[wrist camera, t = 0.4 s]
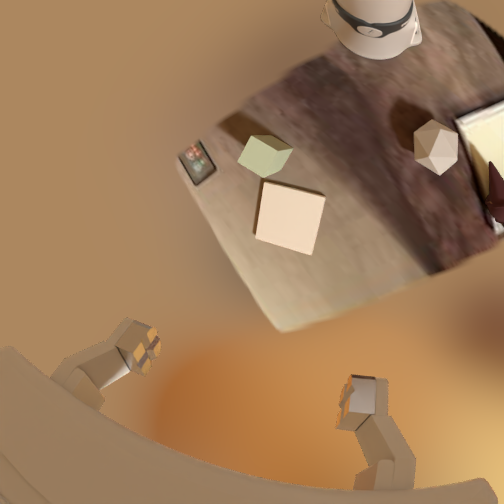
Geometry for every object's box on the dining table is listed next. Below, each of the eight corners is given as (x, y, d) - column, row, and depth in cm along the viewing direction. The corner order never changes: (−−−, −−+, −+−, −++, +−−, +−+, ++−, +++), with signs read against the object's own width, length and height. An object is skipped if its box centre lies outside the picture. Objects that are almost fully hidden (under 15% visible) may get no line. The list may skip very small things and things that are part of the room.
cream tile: (266, 181, 54) (264, 182, 53) (326, 196, 50) (325, 197, 49) (257, 236, 59) (255, 238, 58) (312, 253, 56) (311, 255, 55)
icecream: (477, 174, 32) (497, 250, 35) (511, 160, 27) (528, 239, 30) (469, 162, 37) (490, 231, 40) (500, 150, 31) (518, 221, 35)
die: (408, 167, 43) (445, 191, 35) (395, 128, 38) (437, 147, 30) (435, 146, 41) (472, 166, 34) (425, 107, 36) (466, 123, 28)
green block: (271, 135, 50) (251, 135, 41) (293, 148, 49) (278, 151, 41) (259, 156, 52) (237, 162, 44) (280, 170, 52) (262, 177, 43)
